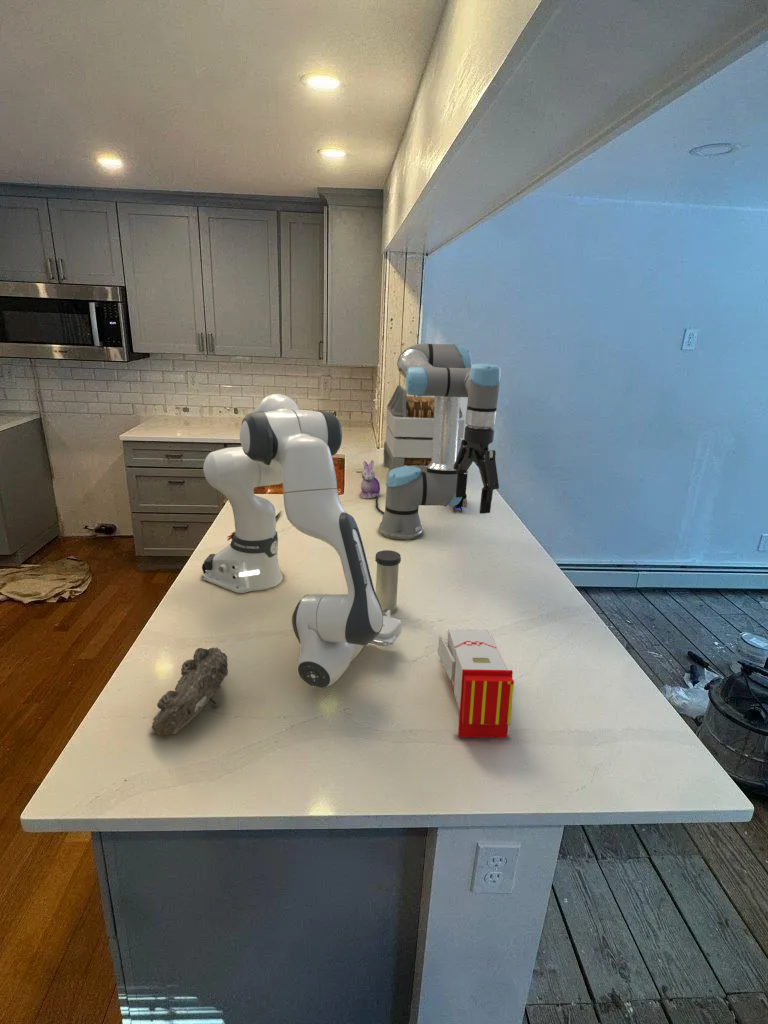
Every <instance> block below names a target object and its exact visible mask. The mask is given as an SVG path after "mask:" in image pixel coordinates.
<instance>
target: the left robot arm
mask: <svg viewBox="0 0 768 1024" xmlns="http://www.w3.org/2000/svg"><path fill="white" fill-rule="evenodd" d="M342 442H343V430H342V424H341V422H340V420H339V419H338V418H337V416H336V415H335V414H334V413H332V412H329V411H325V410H320V409H316V410H309V409H300V408H299V406H298V404H297V403H296V402H295V401H294V400H293V399H292V398H291V397H289V396H288V395H285V394H282V393H273V394H270V395H267V396H266V397H264V398H263V399H262V400H261V401H260V402H259V403H258V405H257V406H256V407H255V409H254V410H253V412H250V413H247V414H246V415H245V417H243V418H242V421H241V424H240V429H239V443H240V446H233V447H231V446H230V447H223V448H221V449H217V450H214V451H211V452H209V453H208V454H207V456H206V457H205V459H204V462H203V467H202V468H203V469H202V471H203V476H204V478H205V480H206V482H207V483H208V484H209V485H210V486H211V487H212V488H213V489H215V490H217V491H218V492H220V493H221V494H222V495H223V496H224V497H225V498H226V499H227V500H228V502H229V504H230V506H231V509H232V514H233V521H234V531H233V532H232V533H231V534H230V535H228V536H226V538H227V540H226V541H227V542H228V541H230V543H229V544H228V545H227V546H225V547H223V548H222V549H221V550H220V551H219V552H217V553H209V555H208V556H207V557H206V558H205V559H204V561H203V563H202V565H201V570H202V573H203V578H202V579H203V580H204V581H206V582H209V583H211V584H214V585H216V586H219V587H222V588H224V589H226V590H230V591H232V592H234V593H237V594H244V593H245V594H246V593H249V592H253V591H254V592H255V591H264V590H268V589H271V588H274V587H276V586H278V585H279V584H281V582H282V581H283V579H284V576H283V574H282V570H281V567H280V561H279V556H278V551H279V537H278V531H277V522H276V521H277V519H276V516H277V514H276V508H275V505H274V504H273V503H272V502H271V501H270V500H268V499H267V498H265V497H262V496H258V495H256V494H255V488H257V487H268V486H275V485H281V484H282V493H283V494H282V497H283V507H284V512H285V515H286V519H287V520H288V522H289V523H290V524H291V525H292V526H293V527H294V528H295V529H296V530H297V531H299V532H300V533H302V534H304V535H307V536H308V537H312V538H314V539H317V540H320V541H321V542H325V544H328V545H329V546H331V547H332V548H333V549H334V550H335V551H336V552H337V554H338V556H339V560H340V563H341V567H342V571H343V576H344V579H345V583H346V587H347V593H311V594H310V593H309V594H305V595H304V596H303V597H302V598H301V599H299V601H298V602H297V604H296V605H295V607H294V610H293V613H292V615H291V625H292V631H293V633H294V636H295V637H296V639H297V641H298V644H299V645H300V646H299V647H300V648H299V649H300V652H299V657H298V661H297V666H296V667H297V668H296V669H297V673H298V675H299V678H300V679H301V680H302V681H303V682H304V683H306V684H307V685H309V686H311V687H314V688H319V689H320V688H321V689H322V688H323V689H324V688H328V687H330V686H332V685H333V684H334V683H336V682H337V681H338V680H339V679H340V678H341V677H342V675H343V674H344V673H345V672H346V671H347V669H348V668H349V666H350V665H351V661H353V660H354V659H355V658H356V657H357V656H358V655H359V653H360V652H361V650H363V648H364V647H365V646H367V645H368V644H370V645H375V646H379V647H389V646H392V645H394V643H395V641H397V639H398V638H399V637H400V636H401V634H402V622H401V620H400V619H398V618H394V617H391V614H392V613H391V610H388V609H384V610H383V613H382V609H381V606H380V603H379V600H378V598H377V596H376V589H375V586H374V583H373V579H372V576H371V572H370V567H369V562H368V559H367V556H366V551H365V547H364V544H363V540H362V536H361V533H360V530H359V526H358V524H357V522H356V520H355V518H354V516H353V515H352V514H349V513H347V512H346V510H345V509H344V506H343V505H342V503H341V499H340V496H339V490H338V481H337V475H336V470H335V463H334V460H333V456H336V454H338V451H339V450H340V448H341V446H342Z"/></svg>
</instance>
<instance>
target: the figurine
mask: <svg viewBox="0 0 768 1024" xmlns="http://www.w3.org/2000/svg"><path fill="white" fill-rule="evenodd" d="M362 464H363V470H362V472H361V478H362V481H361V483H360V490H361V491H360V496H361V498H362V499H373V498H375V499H376V495H377V497H379V496H380V491H381V484H380V481H379V480H378V478H376V473H375V471H374V465H375V460H370V462H369V464H368V462H367V461H366V460H364V461H363V463H362Z"/></svg>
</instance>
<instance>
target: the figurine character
mask: <svg viewBox="0 0 768 1024" xmlns="http://www.w3.org/2000/svg"><path fill="white" fill-rule="evenodd" d="M467 495H468V494H466V496H465V497H462V499H461V501H460V502H459V504H457V505H454V506H450V507H451V508H452V510H453V512H456V510H458V509H459V510H460V512H463V509H464V508H465V509H466V508H467V506H468V499H467V497H468V496H467Z"/></svg>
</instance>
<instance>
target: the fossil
mask: <svg viewBox="0 0 768 1024" xmlns="http://www.w3.org/2000/svg"><path fill="white" fill-rule="evenodd" d="M228 659H229V658H228V655H227V654H226V653H225V652H222V650H221V649H220V648H219V647H217V646H215V647H213V646H212V647H209V648H204V647H198V648H196V649H195V651H194V653H193V656H192V658H191V659H186V660H185V661H183V663H182V665H181V668H180V669H181V670H180V671H181V673H180V675H181V676H180V678H179V680H177V683H176V685H175V687H174V690H167V692H166V693H165V694H163V695H162V696H161V697H160V698H159V700H158V702H157V703H156V707H157V708H158V709H159V712H158V713H157V715H156V716H154V717H153V722H152V730H153V733H154V734H158V736H168V735H172V734H173V735H176V734H177V733H178V732H179V731H181V729H182V728H184V727H185V726H186V725H188V724H189V722H190V721H191V720H192V719H193V718H195V716H197V715H198V714H199V713H200V712H201V711H202V710H203V707H204V705H206V704H207V703H208V702H209V701H210V702H211V703H212V704H213V705H214V706H216V705H217V702H216V701H215V700H214V699H213V698H212V696H213V694H215V693H217V692H218V691H219V689H220V688H221V685H222V684H223V681H224V680H225V678H226V677H227V676H228V674H229V668H228V667H229V664H228Z"/></svg>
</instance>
